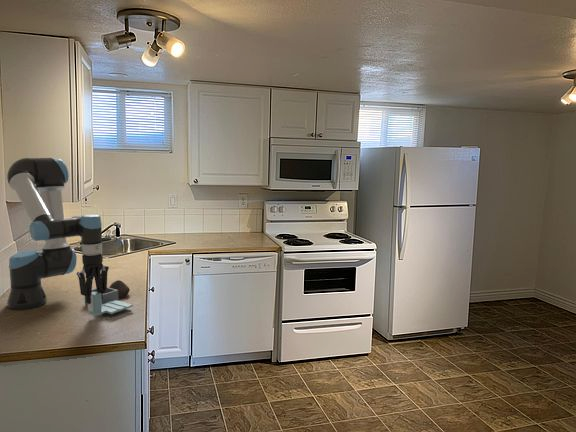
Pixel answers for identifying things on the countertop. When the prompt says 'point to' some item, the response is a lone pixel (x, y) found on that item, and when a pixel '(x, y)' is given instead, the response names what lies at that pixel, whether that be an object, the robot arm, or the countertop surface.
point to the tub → (107, 295)
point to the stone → (120, 288)
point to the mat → (116, 313)
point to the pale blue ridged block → (107, 305)
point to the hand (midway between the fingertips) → (94, 309)
